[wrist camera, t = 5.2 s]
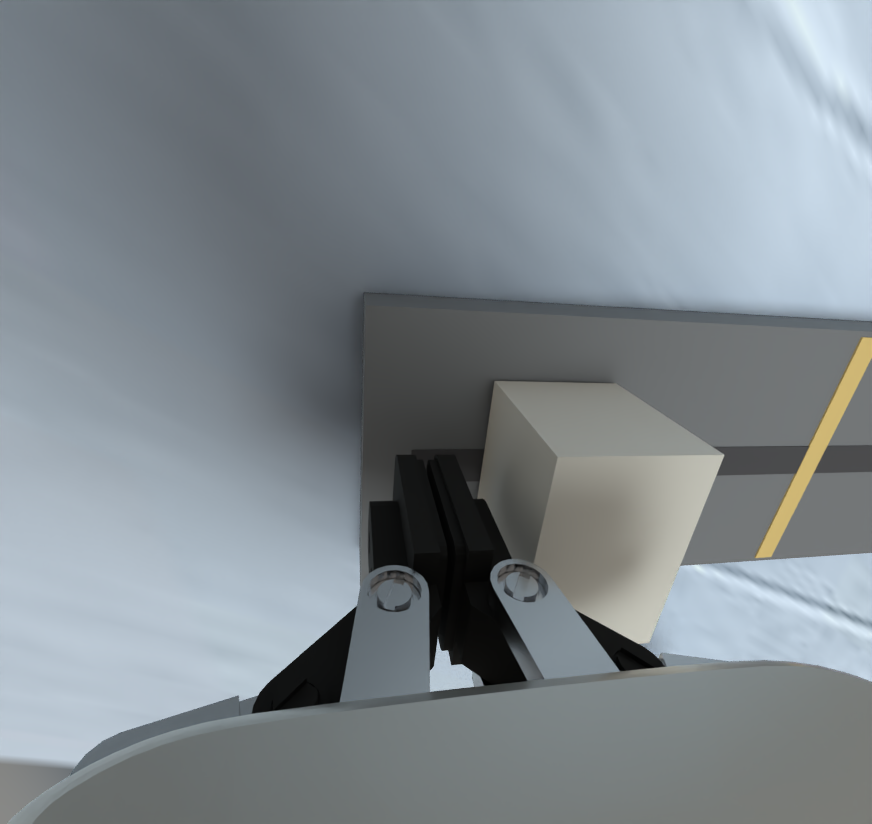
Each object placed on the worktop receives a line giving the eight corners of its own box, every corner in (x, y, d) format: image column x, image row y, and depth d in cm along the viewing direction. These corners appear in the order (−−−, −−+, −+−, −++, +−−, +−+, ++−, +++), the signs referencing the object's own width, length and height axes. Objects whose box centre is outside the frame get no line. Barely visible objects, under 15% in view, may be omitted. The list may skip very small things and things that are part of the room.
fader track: (359, 548, 17) (360, 588, 16) (364, 292, 13) (365, 305, 12) (906, 520, 23) (955, 547, 21) (1027, 330, 19) (1101, 343, 17)
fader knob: (471, 540, 15) (512, 657, 11) (494, 380, 13) (557, 457, 9) (575, 535, 16) (649, 642, 12) (616, 383, 14) (724, 455, 10)
